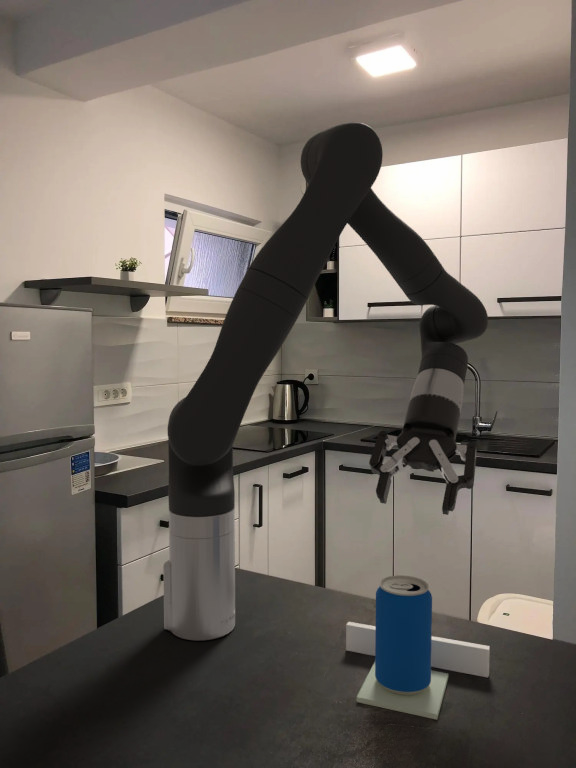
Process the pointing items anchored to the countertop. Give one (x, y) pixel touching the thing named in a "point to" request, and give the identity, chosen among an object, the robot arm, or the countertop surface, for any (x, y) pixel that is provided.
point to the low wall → (442, 650)
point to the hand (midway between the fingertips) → (413, 506)
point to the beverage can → (403, 634)
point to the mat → (405, 696)
